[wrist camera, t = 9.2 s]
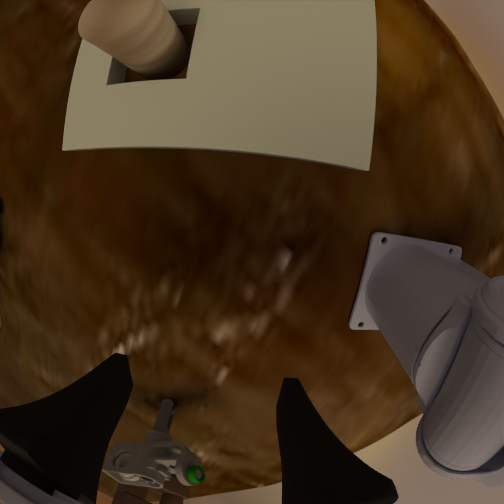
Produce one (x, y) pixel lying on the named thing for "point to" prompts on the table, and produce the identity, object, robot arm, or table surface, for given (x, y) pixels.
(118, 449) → the mechanical component
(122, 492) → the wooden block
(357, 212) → the table surface
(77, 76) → the socket board
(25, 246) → the table surface
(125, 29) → the birch peg
